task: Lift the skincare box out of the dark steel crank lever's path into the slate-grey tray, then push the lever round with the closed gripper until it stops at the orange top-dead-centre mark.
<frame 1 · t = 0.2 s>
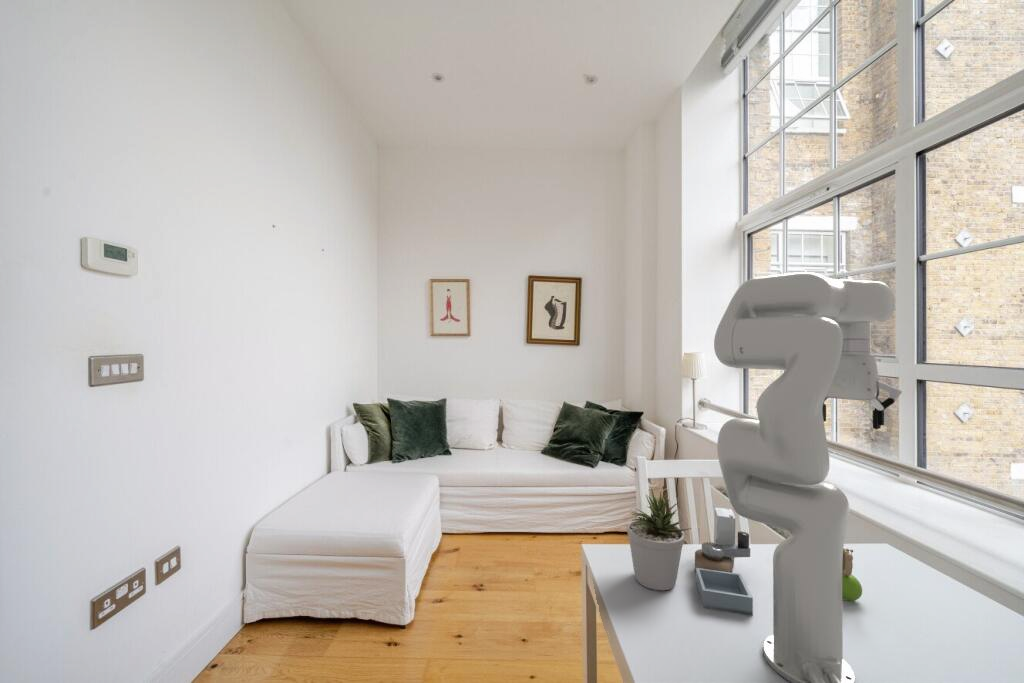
hand: (848, 424, 92), 37 cm above the table, tool pointing down, fingers open, 9 cm apart
snail figurine: (846, 600, 88), on the table
tray: (722, 598, 89), on the table
crank: (725, 544, 99), point 7 cm above the table, hinge at -70.0°
skincare box: (724, 560, 105), on the table
crank pedestal: (713, 573, 98), on the table
potted plant: (657, 581, 95), on the table
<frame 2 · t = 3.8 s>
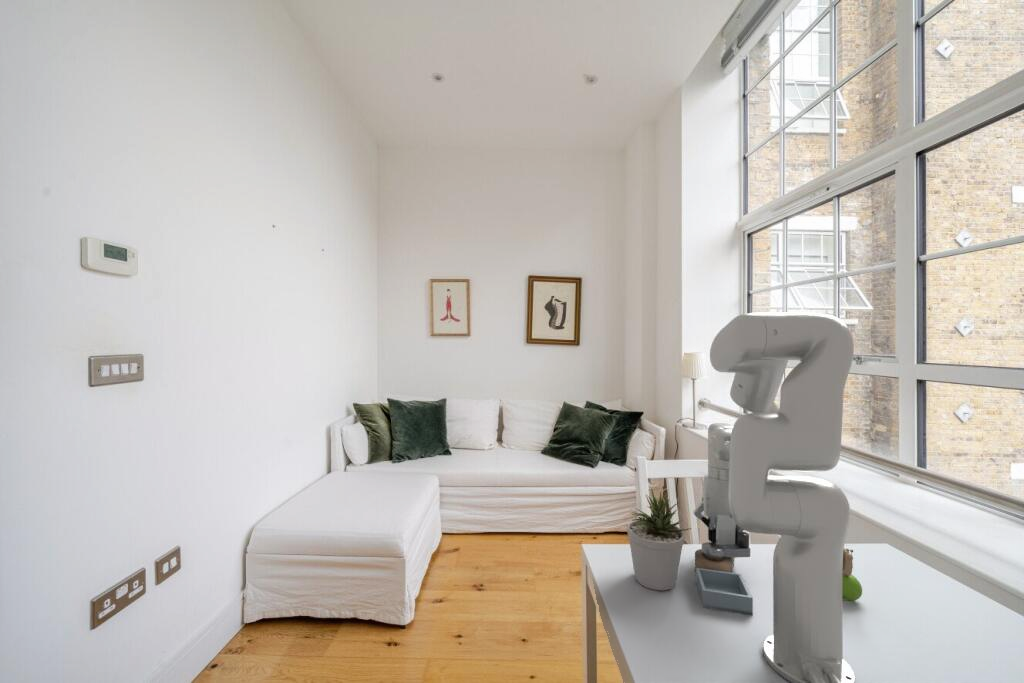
hand: (724, 544, 105), 4 cm above the table, tool pointing down, fingers closed on skincare box, 4 cm apart
skincare box: (724, 560, 105), on the table, touching gripper
everything else where it was.
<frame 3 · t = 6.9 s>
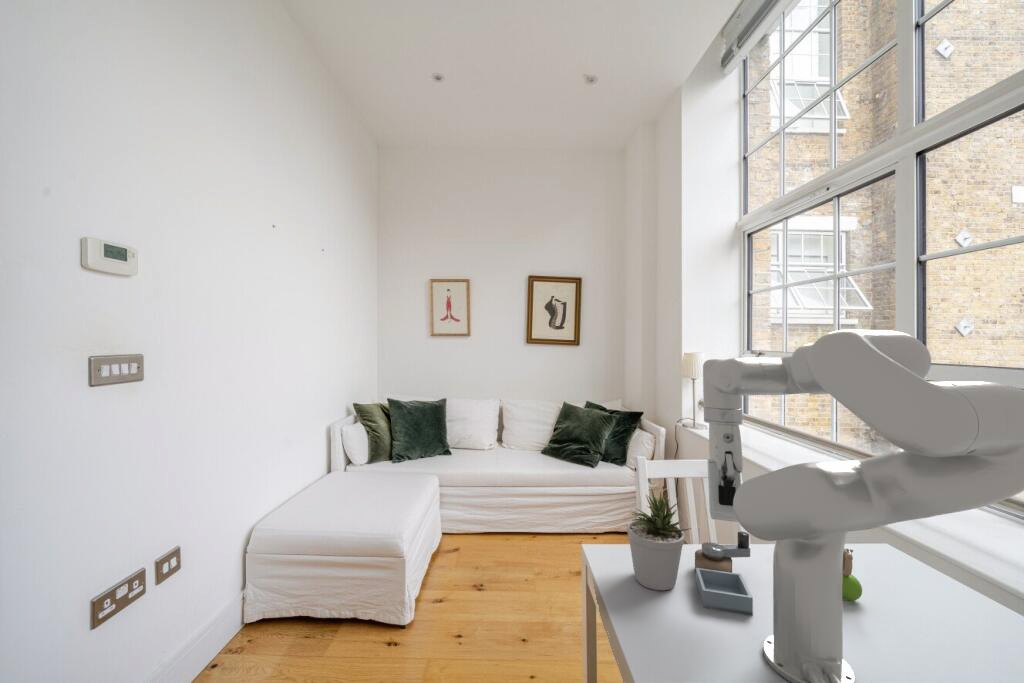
hand: (724, 500, 89), 21 cm above the table, tool pointing down, fingers closed on skincare box, 4 cm apart
skincare box: (724, 519, 89), point 17 cm above the table, touching gripper
everything else where it was.
when the fingers open (6 cm above the table, at t = 10.3 s): skincare box drops 1 cm, resting on tray.
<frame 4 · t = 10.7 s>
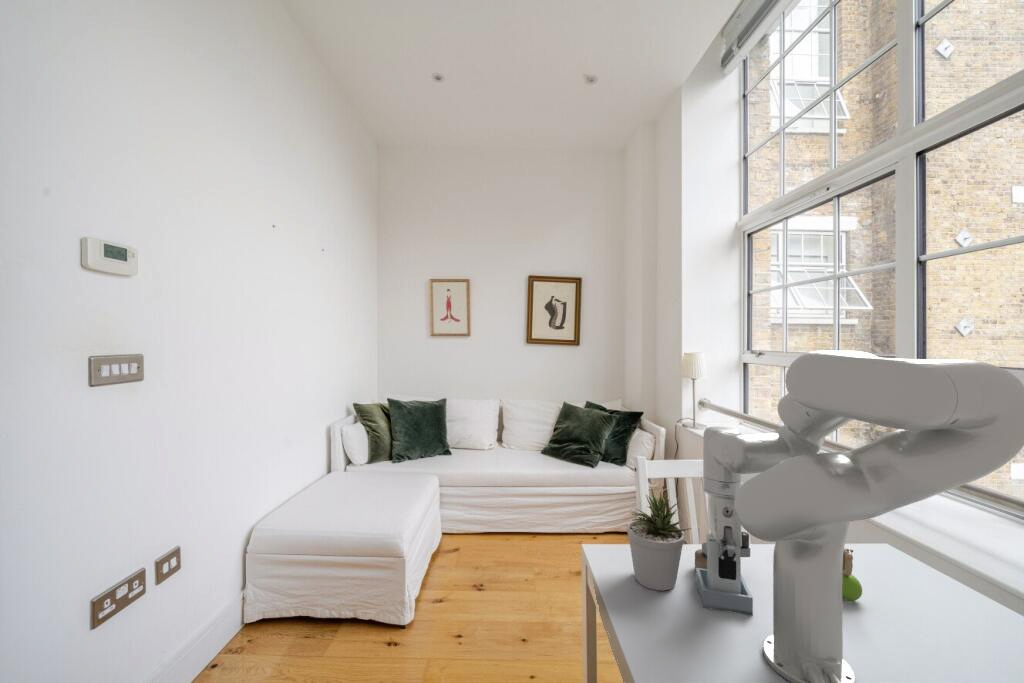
hand: (722, 567, 89), 7 cm above the table, tool pointing down, fingers open, 8 cm apart
skincare box: (723, 597, 88), resting on tray
everything else where it was.
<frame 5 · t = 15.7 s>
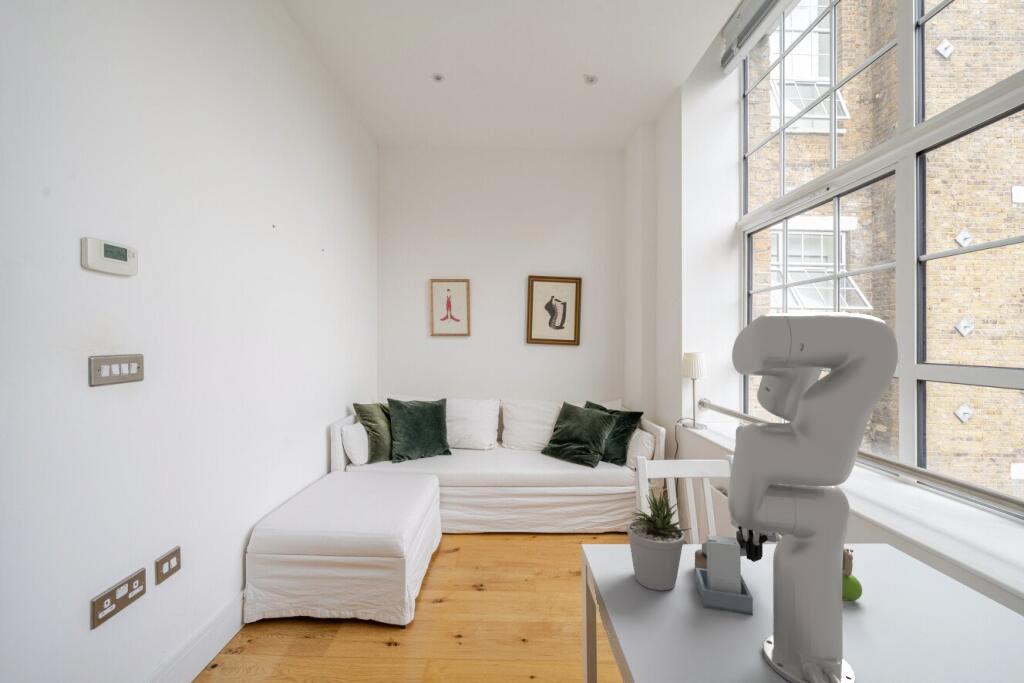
hand: (754, 558, 96), 5 cm above the table, tool pointing down, fingers closed
crank: (725, 544, 99), point 7 cm above the table, hinge at -66.1°, touching gripper
everything else where it was.
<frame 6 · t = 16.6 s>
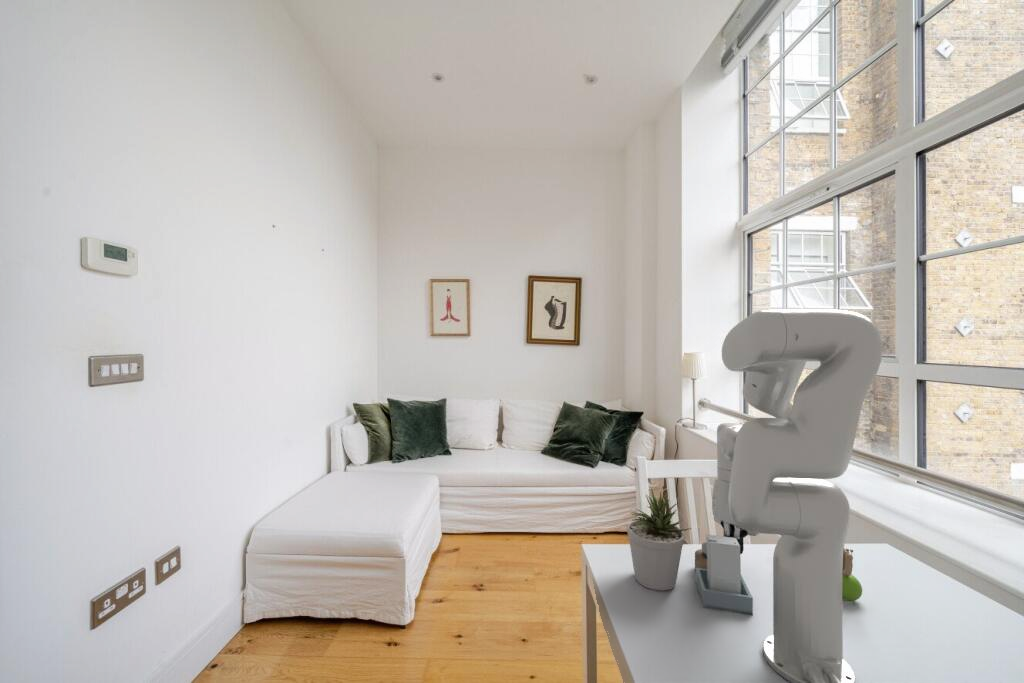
hand: (735, 553, 99), 5 cm above the table, tool pointing down, fingers closed
crank: (719, 541, 100), point 7 cm above the table, hinge at -38.0°, touching gripper
everything else where it was.
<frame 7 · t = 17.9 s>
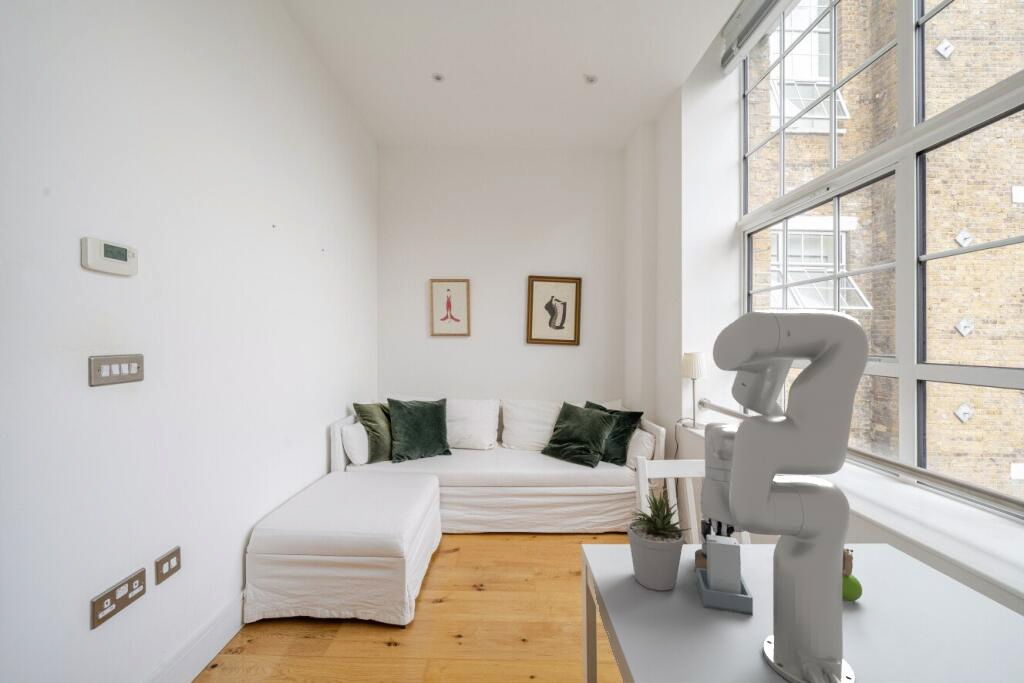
hand: (723, 549, 101), 4 cm above the table, tool pointing down, fingers closed
crank: (710, 539, 101), point 7 cm above the table, hinge at 2.3°, touching gripper
everything else where it was.
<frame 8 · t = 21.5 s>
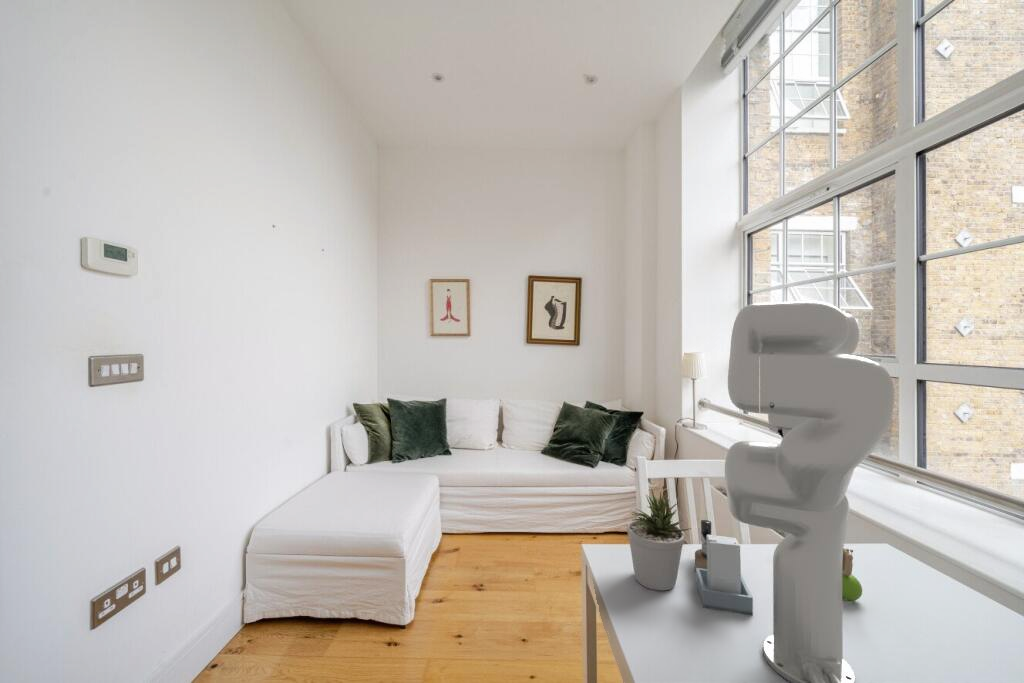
hand: (795, 461, 90), 29 cm above the table, tool pointing down, fingers closed
crank: (710, 539, 101), point 7 cm above the table, hinge at 2.3°
everything else where it was.
at the end: skincare box inside the target area on the tray (0.3 cm from its centre), point 0.4 cm above the tray's base; skincare box tilted 0°; crank at +2° (first picture: -70°) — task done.
